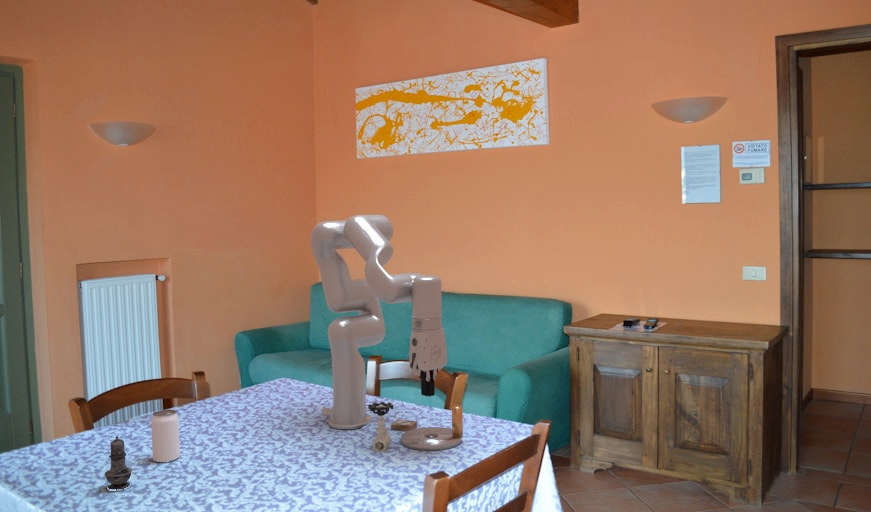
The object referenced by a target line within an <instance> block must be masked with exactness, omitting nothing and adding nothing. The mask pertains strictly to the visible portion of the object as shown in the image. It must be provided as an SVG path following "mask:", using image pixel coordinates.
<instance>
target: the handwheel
mask: <svg viewBox="0 0 871 512" xmlns="http://www.w3.org/2000/svg"><path fill="white" fill-rule="evenodd" d="M463 416H464V415H463V406H462V405H460V404H459V405H458V404H456V405H452V406H451V428H449V427H443V426H442V427H440V426H427V427H419V428H418V427H416V428H415V429H412V430H409V431H407V432H406V431H404V432H402V434H401V437H400V439H401V440H400V441H401V444H402V445H403V446H404V447H405V448H407V449H410V450H415V451H422V452H437V451H445V450H450V449H452V448H456V447H457V446H459V445H460V444H462V440H463V439H462V438H464V429H463V427H464V426H463V425H464V424H463V423H464V422H463V421H464V420H463Z"/></svg>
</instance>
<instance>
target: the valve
mask: <svg viewBox="0 0 871 512" xmlns="http://www.w3.org/2000/svg"><path fill="white" fill-rule="evenodd" d="M367 406H368V410H369V411H370V412H372V413H373V414H375V415H377V416H378V418H377V425H378V426H377V427H376V428H375V434H376V436H375V438H374V439H373V442H372V450H373V451H374V452H377V453H378V452H383V453H384V452H386V451H387V450H388V448H389V447H390V445H391V435H390V434H389V433H388V428H387V427H386V426H385V422H386V419H385V418H384V416H385V415H388V412H390V410H394V404H392V402H387V403H386V402H384V401H380V402H372V404H368V405H367Z"/></svg>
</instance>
